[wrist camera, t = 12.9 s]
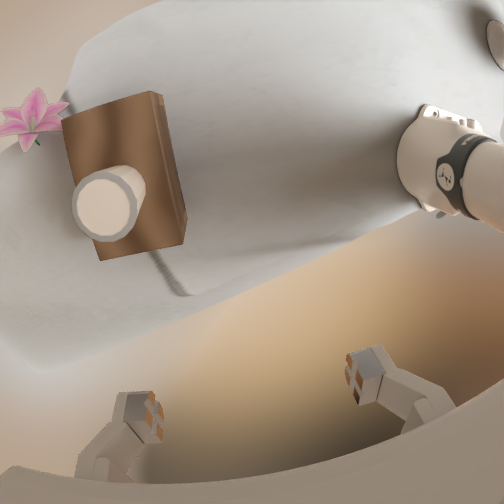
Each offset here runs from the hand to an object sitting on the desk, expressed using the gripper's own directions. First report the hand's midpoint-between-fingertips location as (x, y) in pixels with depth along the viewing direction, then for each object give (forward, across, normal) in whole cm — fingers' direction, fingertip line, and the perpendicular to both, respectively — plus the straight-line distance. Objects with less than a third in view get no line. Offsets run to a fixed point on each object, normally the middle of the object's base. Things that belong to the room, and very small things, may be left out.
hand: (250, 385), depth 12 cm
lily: (+34, +23, -16) cm, 45 cm away
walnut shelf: (+34, +11, -5) cm, 36 cm away
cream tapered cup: (+25, +11, -4) cm, 28 cm away
